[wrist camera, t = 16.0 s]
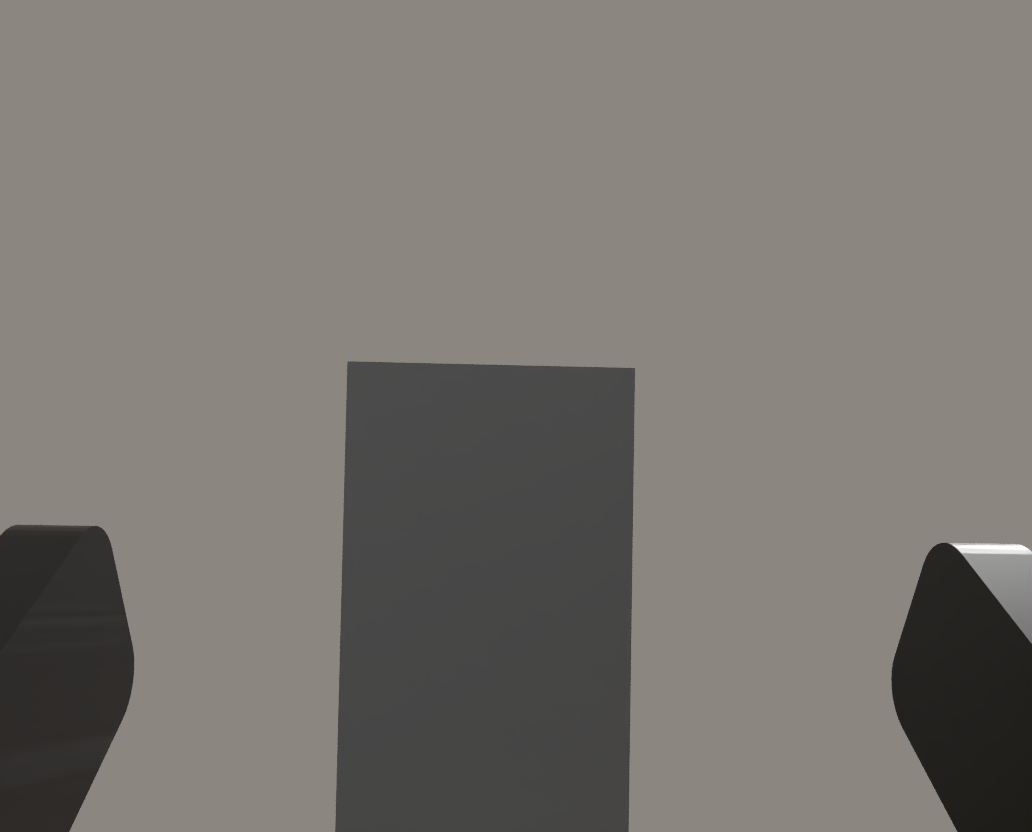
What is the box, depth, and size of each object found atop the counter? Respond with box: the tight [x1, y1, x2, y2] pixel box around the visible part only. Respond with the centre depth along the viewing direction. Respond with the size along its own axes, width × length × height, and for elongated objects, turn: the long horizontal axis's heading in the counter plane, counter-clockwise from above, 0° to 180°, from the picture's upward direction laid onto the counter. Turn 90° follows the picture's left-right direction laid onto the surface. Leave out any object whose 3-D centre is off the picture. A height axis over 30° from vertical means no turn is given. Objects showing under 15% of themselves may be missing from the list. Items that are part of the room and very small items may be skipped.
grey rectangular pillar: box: [335, 362, 635, 832], centre depth 39 cm, size 14×14×32 cm
